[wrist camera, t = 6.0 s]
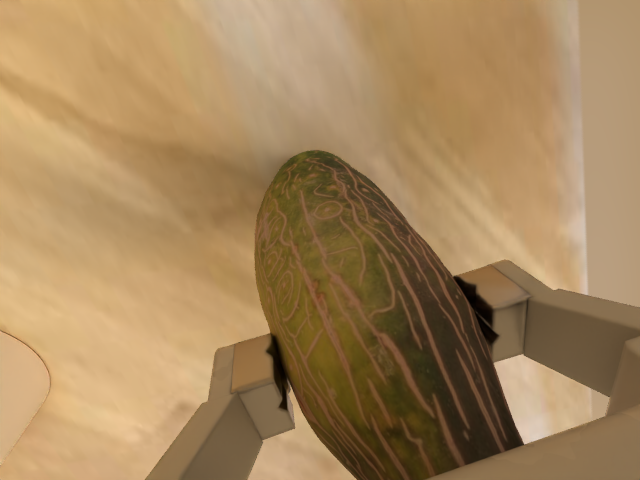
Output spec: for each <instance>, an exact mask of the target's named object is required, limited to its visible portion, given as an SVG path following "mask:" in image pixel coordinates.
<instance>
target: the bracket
mask: <svg viewBox="0 0 640 480" xmlns="http://www.w3.org/2000/svg"><path fill="white" fill-rule="evenodd" d="M49 389H50V377H49V373H48V370H47V368H46V366H45V365H44V363H43V361H42V360H41V359H40V358H39V356H38V355H37V354H36V353H35V352H34V351H33V350H31V349H30V348H29V347H28V346H26V345H25V344H24V343H22V342H21V341H19V340H17V339H16V338H14V337H12V336H10V335H8V334H5V333H3V332H1V331H0V466H1V465H2V463H3V462H4V460H5V459H6V457H7V456H8V454H9V453H10V451H11V450H12V448H13V447H14V445H15V444H16V442H17V441H18V439H19V438H20V436H21V435H22V433H23V432H24V430H25V429H26V427H27V426H28V424H29V423H30V421H31V420H32V418H33V417H34V415H35V414H36V412H37V411H38V410H39V408H40V407H41V405H42V404H43V402H44V401H45V399H46V397H47V395H48V393H49Z"/></svg>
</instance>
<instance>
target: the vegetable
mask: <svg viewBox="0 0 640 480" xmlns="http://www.w3.org/2000/svg"><path fill="white" fill-rule="evenodd" d="M255 271H256V284H257V288H258V292H259V296H260V301H261V305H262V308H263V311H264V314H265V317H266V320H267V322H268V325H269V328H270V332H271V333H272V334H273V335H274V337H275V340H276V343H277V347H278V355H279V360H280V362H281V365H282V367H283V370H284V372H285V375H286V377H287V379H288V381H289V383H290V385H291V387H292V389H293V392H294V394H295V397H296V399H297V401H298V404H299V406H300V408H301V411H302V413H303V415H304V416H305V418H306V420H307V421H308V423H309V425H310V426H311V428H312V429H313V431H314V432H315V434H316V435H317V437H318V438H319V439H320V441H321V442H322V443H323V444H324V445H325V446H326V447H327V448H328V450H329V451H330V452H331V453H332V454H333V455H334V456H335V457H336V458H337V459H338V460H339V461H340V462H341V463H342V465H343V466H344V467H345V468H346V469H347V470H348V471H349V472H350V473H351V474H352V475H353V476H354V477H355V478H356V479H357V480H425V479H428V478H431V477H434V476H436V475H439V474H442V473H445V472H448V471H451V470H454V469H456V468H459V467H462V466H465V465H468V464H471V463H473V462H476V461H479V460H482V459H485V458H488V457H491V456H493V455H496V454H499V453H502V452H505V451H508V450H511V449H513V448H516V447H519V446H522V445H524V443H523V441H522V438H521V436H520V434H519V432H518V430H517V428H516V426H515V424H514V421H513V418H512V415H511V413H510V410H509V407H508V404H507V402H506V399H505V396H504V393H503V390H502V387H501V384H500V381H499V378H498V375H497V372H496V370H495V367H494V364H493V361H492V358H491V355H490V352H489V349H488V345H487V343H486V341H485V338H484V336H483V333H482V331H481V328H480V326H479V324H478V321H477V318H476V315H475V312H474V311H473V309H472V307H471V305H470V303H469V301H468V300H467V298H466V297H465V295H464V294H463V292H462V291H461V289H460V288H459V286H458V285H457V283H456V282H455V280H454V278H453V277H452V275H451V273H450V272H449V271H448V270H447V268H446V267H445V266H444V265H443V263H442V262H441V260H440V259H439V257H438V256H437V255H436V254H435V252H434V251H433V250H432V248H431V247H430V246H429V245H428V244H427V242H426V241H425V240H424V239H423V238H422V237H421V236H420V235H419V234H418V233H417V232H416V231H415V230H414V229H413V228H412V227H411V226H410V225H409V223H408V222H407V220H406V218H405V217H404V216H403V215H402V214H401V212H400V211H399V210H398V209H397V208H396V206H395V205H394V204H393V203H392V202H391V201H390V200H389V199H388V198H387V196H386V195H385V194H384V193H383V192H382V191H381V190H380V189H379V188H378V187H377V186H376V185H375V184H374V183H373V182H372V181H371V180H369V179H368V178H367V177H366V176H364V175H363V174H361V173H360V172H358V171H357V170H355V169H354V168H352V167H351V166H350V165H349V164H347V163H346V162H345V161H343V160H342V159H341V158H339V157H337V156H335V155H333V154H331V153H328V152H324V151H319V150H313V151H306V152H303V153H300V154H298V155H296V156H294V157H292V158H291V159H290V160H288V161H287V162H286V163H285V164H284V165H283V166H282V167H281V169H280V170H279V171H278V173H277V174H276V176H275V177H274V179H273V181H272V183H271V185H270V186H269V188H268V189H267V191H266V193H265V196H264V199H263V201H262V204H261V207H260V209H259V212H258V215H257V222H256V230H255Z"/></svg>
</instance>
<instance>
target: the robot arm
mask: <svg viewBox="0 0 640 480" xmlns="http://www.w3.org/2000/svg"><path fill="white" fill-rule="evenodd" d="M453 278H454V280H455V282H456V283H457V285H458V286H459V288H460V289H461V291H462V292H463V294H464V295H465V297H466V298H467V300H468V301H469V303H470V305H471V307H472V309H473V311H474V312H475V315H476V318H477V321H478V324H479V326H480V328H481V331H482V333H483V336H484V338H485V341H486V343H487V345H488V349H489V352H490V355H491V358H492V361H493V363H494V362H497V361H501V360H504V359H507V358H511V357H514V356H517V355H521V354H524V356H526V357H528V358H530V359H532V360H534V361H537V362H539V363H541V364H543V365H545V366H547V367H549V368H551V369H553V370H555V371H557V372H559V373H561V374H563V375H565V376H567V377H569V378H571V379H573V380H575V381H577V382H579V383H581V384H584V385H586V386H588V387H590V388H592V389H594V390H596V391H598V392H600V393H602V394H604V395H606V396H608V397H610V399H609V403H608V407H607V410H606V414H605V417H602V418H599V419H596V420H594V421H591V422H588V423H585V424H582V425H579V426H576V427H574V428H571V429H568V430H565V431H562V432H559V433H556V434H554V435H551V436H548V437H545V438H542V439H539V440H536V441H534V442H531V443H528V444H525V445H522V446H519V447H516V448H513V449H511V450H508V451H505V452H502V453H499V454H496V455H493V456H491V457H488V458H485V459H482V460H479V461H476V462H473V463H471V464H468V465H465V466H462V467H459V468H456V469H454V470H451V471H448V472H445V473H442V474H439V475H436V476H434V477H431V478H428V479H425V480H640V307H635V306H631V305H627V304H622V303H618V302H614V301H609V300H605V299H600V298H596V297H592V296H588V295H584V294H579V293H575V292H571V291H566V290H562V289H557V290H554V291H553V290H552V289H551V288H549V287H548V286H546V285H545V284H543V283H542V282H540V281H539V280H537V279H536V278H534V277H533V276H531V275H530V274H528V273H527V272H526V271H524V270H523V269H521V268H520V267H518V266H517V265H515V264H514V263H512V262H511V261H509V260H501V261H498V262H495V263H492V264H489V265H487V266H484V267H481V268H478V269H475V270H472V271H469V272H465V273H462V274H459V275H456V276H453ZM290 390H291V389H290V383H289V381H288V379H287V377H286V375H285V372H284V370H283V367H282V365H281V362H280V360H279V355H278V347H277V343H276V340H275V337H274V335H273V334H272V333H270V334H266V335H263V336H259V337H256V338H252V339H249V340H245V341H242V342H238V343H236V344H232V345H229V346H226V347H222V348H219V349H217V351H216V352H215V356H214V362H213V369H212V376H211V383H210V389H209V396H208V402H205V403H202V404H201V405H200V407H199V408H198V409H197V411H196V412H195V413H194V415H193V416H192V417H191V419H190V420H189V421H188V423H187V424H186V425H185V427H184V428H183V429H182V431H181V432H180V433H179V435H178V436H177V437H176V439H175V440H174V441H173V443H172V444H171V445H170V447H169V448H168V450H167V451H166V452H165V454H164V455H163V456H162V458H161V459H160V460H159V462H158V463H157V464H156V466H155V467H154V468H153V470H152V471H151V472H150V474H149V475H148V476H147V478H146V479H145V480H247V479H248V477H249V474H250V472H251V470H252V467H253V465H254V463H255V460H256V458H257V455H258V453H259V451H260V448H261V446H262V444H263V441H262V440H264V439H267V438H270V437H273V436H275V435H278V434H281V433H284V432H286V431H289V430H292V429H295V422H294V413H293V405H292V402H291V400H290V397H289V395H288V394H289V392H290Z"/></svg>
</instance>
